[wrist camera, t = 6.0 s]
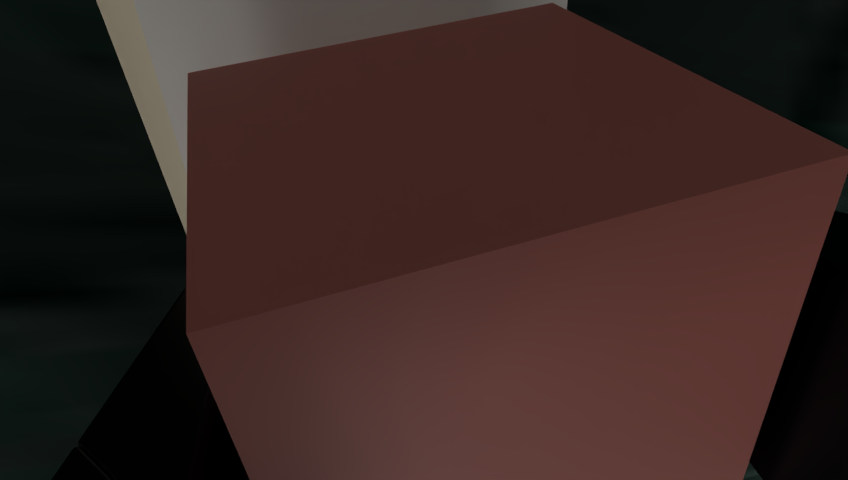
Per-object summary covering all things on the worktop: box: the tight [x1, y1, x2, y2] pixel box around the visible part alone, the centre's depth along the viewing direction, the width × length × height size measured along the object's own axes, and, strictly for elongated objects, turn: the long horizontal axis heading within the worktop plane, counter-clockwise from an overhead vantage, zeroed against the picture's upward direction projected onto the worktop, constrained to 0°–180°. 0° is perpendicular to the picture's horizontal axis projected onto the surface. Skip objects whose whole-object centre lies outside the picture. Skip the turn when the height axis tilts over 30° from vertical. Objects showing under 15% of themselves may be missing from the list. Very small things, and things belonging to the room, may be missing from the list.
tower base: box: [96, 0, 187, 235], centre depth 15 cm, size 9×9×3 cm
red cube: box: [186, 3, 848, 480], centre depth 8 cm, size 5×5×5 cm
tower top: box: [133, 0, 567, 174], centre depth 13 cm, size 7×7×3 cm
